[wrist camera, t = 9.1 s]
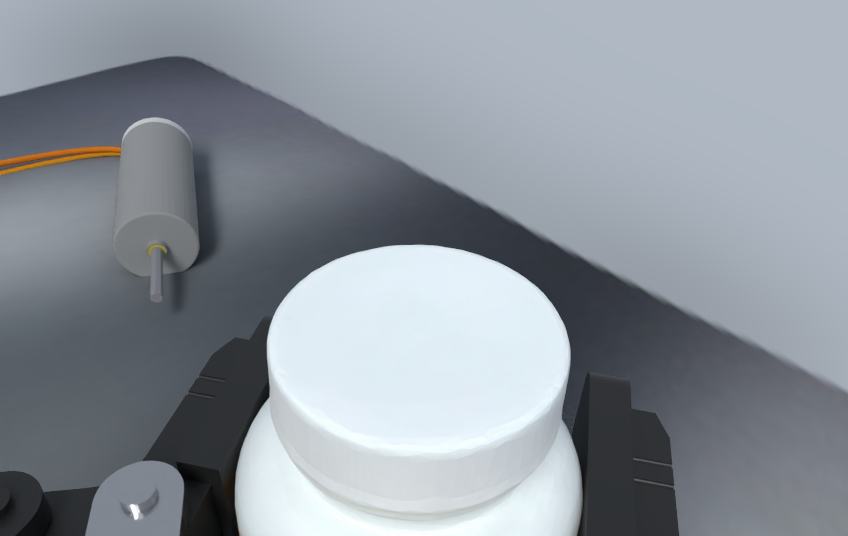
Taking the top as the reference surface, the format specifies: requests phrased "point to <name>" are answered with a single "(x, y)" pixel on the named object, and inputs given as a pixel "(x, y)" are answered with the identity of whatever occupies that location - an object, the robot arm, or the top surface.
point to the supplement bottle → (412, 404)
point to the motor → (147, 198)
